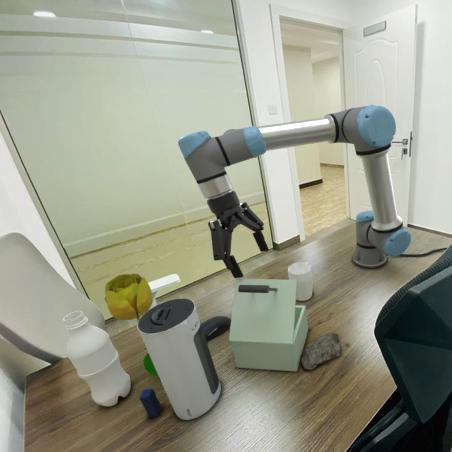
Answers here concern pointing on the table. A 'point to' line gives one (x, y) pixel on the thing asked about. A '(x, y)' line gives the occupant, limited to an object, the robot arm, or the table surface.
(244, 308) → the lid
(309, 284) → the cup
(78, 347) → the water bottle
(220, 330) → the computer mouse
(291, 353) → the chest
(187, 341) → the white cylindrical appliance
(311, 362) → the stone
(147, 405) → the eraser
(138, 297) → the flower
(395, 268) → the table surface
